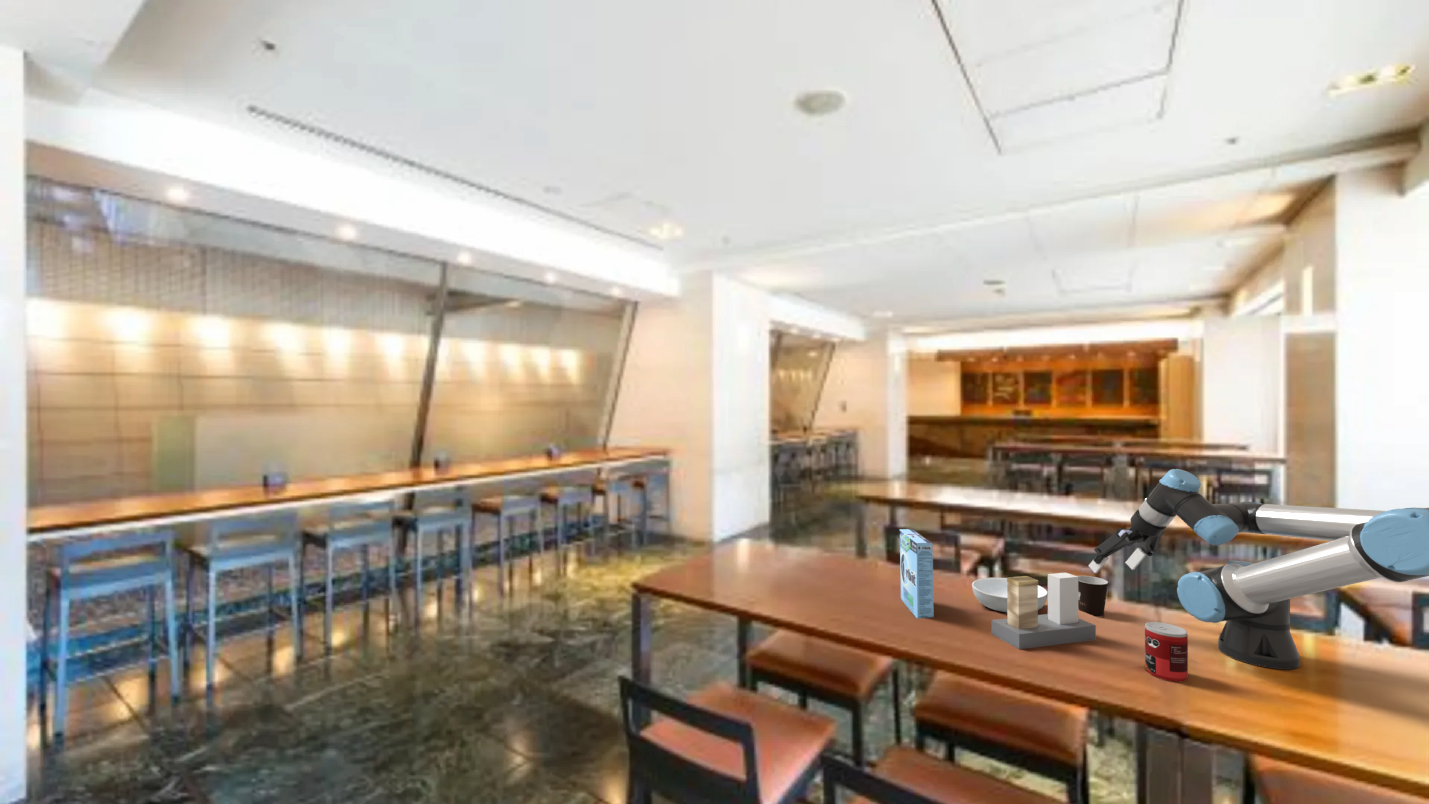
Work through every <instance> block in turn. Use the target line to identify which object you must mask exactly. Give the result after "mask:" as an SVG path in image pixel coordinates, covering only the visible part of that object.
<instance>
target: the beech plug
mask: <svg viewBox="0 0 1429 804" xmlns="http://www.w3.org/2000/svg"><path fill="white" fill-rule="evenodd" d="M1006 578H1007V613H1006V614H1007V615H1006V616H1007V624H1009V625H1011V626H1013V627H1015V628H1017V629H1026V628H1035V627H1038V615H1039V612H1038V611H1039V610H1038V585H1039V580H1038V579H1035V578H1034V577H1033V578H1032V577H1030V576H1028V575H1022V576H1019V575H1018V576H1012V577H1011V576H1010V577H1006Z"/></svg>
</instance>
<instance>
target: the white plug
mask: <svg viewBox="0 0 1429 804" xmlns="http://www.w3.org/2000/svg"><path fill="white" fill-rule="evenodd" d="M1077 576H1078V575H1074V574H1072V573H1068V572H1057V573H1048V574H1047V593H1048V595H1047V614H1048V620H1051V621H1053V622H1055V623H1057V624H1059V625H1062V624H1071V623H1078V618H1079V608H1078V577H1077Z"/></svg>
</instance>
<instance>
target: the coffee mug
mask: <svg viewBox="0 0 1429 804" xmlns="http://www.w3.org/2000/svg"><path fill="white" fill-rule="evenodd" d="M1076 576H1077V577H1078V611H1081V612H1083V613H1085V614H1088V615H1090V616H1092V617H1096V618H1097V617H1098V618H1100V617H1104V615H1105V609H1106V601H1107V594H1108V587H1109V581H1108V580H1106V579H1105V578H1101V577H1097V576H1089V575H1076Z"/></svg>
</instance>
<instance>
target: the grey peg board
mask: <svg viewBox="0 0 1429 804" xmlns="http://www.w3.org/2000/svg"><path fill="white" fill-rule="evenodd" d="M1096 629H1097V626H1096V624H1094V623H1091V622H1088V621H1087V620H1084V619H1082V618H1079V617H1078V623H1071V624H1062V625H1059V624H1057V623H1055V622H1053V621H1051V620H1048V613H1046V614H1038V627H1035V628H1026V629H1017V628H1015V627H1013V626H1011V625H1009V624H1007V618H997V619H991V635H992V636H993V637H994V636H995V637H996V638H998V639H1000V640H1001V641H1003V642H1005V643H1007V644H1008V645H1011V646H1012V647H1015V648H1016V649H1018V650H1024V649H1026V650H1027V649H1031V648H1032V649H1033V648H1041V647H1048V646H1049V647H1050V646H1058V645H1063V644H1064V645H1065V644H1072V643H1073V644H1074V643H1081V642H1082V643H1083V642H1088V641H1090V642H1091V641H1096V639H1097V638H1096V637H1097V636H1096V633H1097V630H1096Z"/></svg>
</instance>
